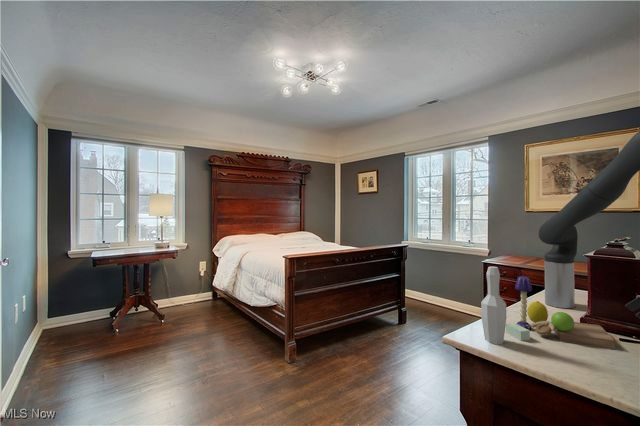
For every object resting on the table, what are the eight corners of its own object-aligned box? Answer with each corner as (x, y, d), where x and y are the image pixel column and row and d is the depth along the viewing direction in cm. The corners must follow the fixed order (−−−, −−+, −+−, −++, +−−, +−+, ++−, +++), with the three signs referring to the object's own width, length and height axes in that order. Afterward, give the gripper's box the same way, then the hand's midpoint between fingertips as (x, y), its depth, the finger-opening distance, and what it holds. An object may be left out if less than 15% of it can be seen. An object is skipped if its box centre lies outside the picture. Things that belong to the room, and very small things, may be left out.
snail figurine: (562, 304, 93) (522, 319, 97) (571, 315, 87) (528, 330, 91) (572, 319, 92) (531, 333, 97) (582, 330, 87) (538, 345, 91)
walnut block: (551, 328, 99) (551, 319, 99) (599, 334, 93) (599, 325, 93) (560, 343, 89) (559, 333, 89) (614, 351, 83) (614, 340, 83)
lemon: (539, 329, 97) (539, 304, 97) (523, 323, 102) (523, 299, 102) (552, 327, 99) (552, 302, 98) (536, 321, 104) (535, 297, 104)
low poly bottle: (490, 334, 94) (488, 264, 94) (511, 342, 89) (510, 267, 88) (477, 339, 91) (476, 266, 91) (498, 347, 86) (497, 270, 85)
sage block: (505, 333, 95) (505, 323, 95) (514, 332, 96) (514, 323, 96) (520, 341, 89) (520, 331, 89) (529, 340, 90) (529, 330, 90)
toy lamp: (536, 329, 97) (535, 277, 97) (525, 331, 95) (524, 279, 95) (522, 324, 101) (521, 274, 101) (511, 326, 100) (511, 276, 100)
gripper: (667, 261, 86) (612, 296, 92) (693, 271, 74) (629, 310, 80) (695, 282, 83) (637, 316, 90) (727, 295, 71) (657, 334, 77)
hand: (633, 313), depth 85 cm, fingers open, 8 cm apart
